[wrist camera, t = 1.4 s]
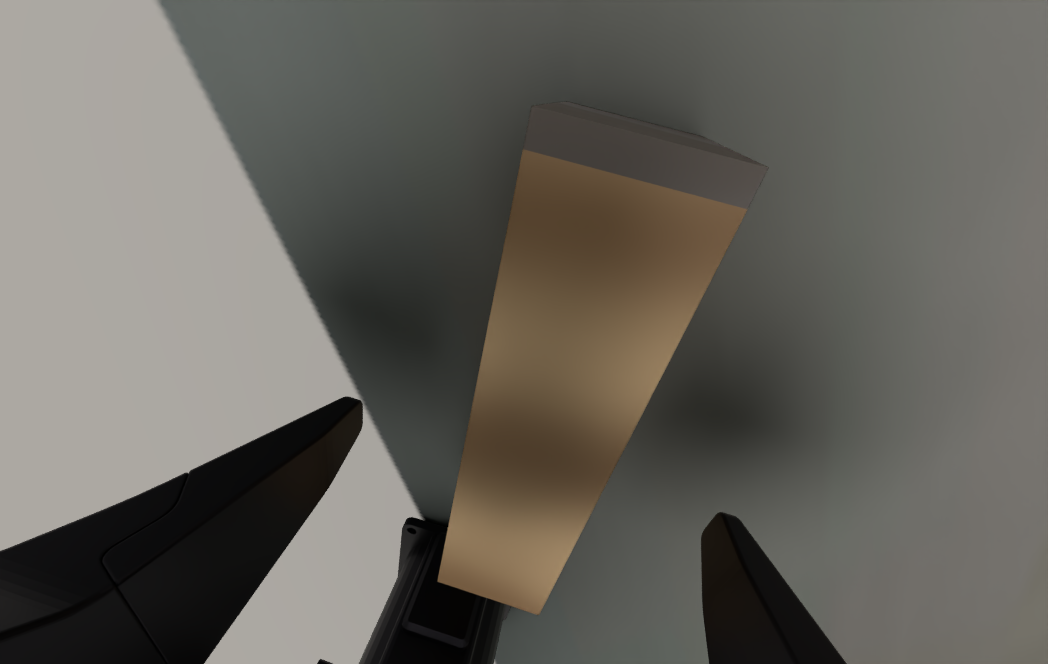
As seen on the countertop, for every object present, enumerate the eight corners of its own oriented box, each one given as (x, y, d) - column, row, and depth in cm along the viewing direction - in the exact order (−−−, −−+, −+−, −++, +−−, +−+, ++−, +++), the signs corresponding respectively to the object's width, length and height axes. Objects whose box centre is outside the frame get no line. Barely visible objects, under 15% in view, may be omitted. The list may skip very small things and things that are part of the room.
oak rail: (557, 488, 17) (538, 615, 13) (480, 464, 18) (437, 581, 13) (703, 136, 10) (769, 168, 6) (566, 101, 10) (531, 105, 6)
